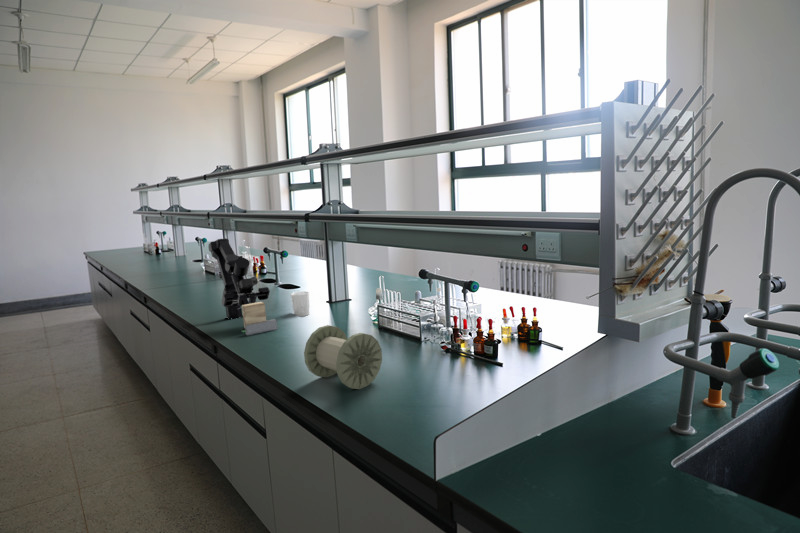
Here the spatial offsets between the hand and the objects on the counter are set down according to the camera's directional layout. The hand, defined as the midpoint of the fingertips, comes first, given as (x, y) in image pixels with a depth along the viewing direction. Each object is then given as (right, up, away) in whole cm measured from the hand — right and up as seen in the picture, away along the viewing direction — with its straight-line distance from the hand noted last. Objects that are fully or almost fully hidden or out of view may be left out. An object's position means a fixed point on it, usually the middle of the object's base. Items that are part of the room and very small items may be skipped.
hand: (252, 312), depth 212 cm
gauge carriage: (+2, -6, -1) cm, 6 cm away
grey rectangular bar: (+6, -7, -7) cm, 12 cm away
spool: (+44, -14, -63) cm, 78 cm away
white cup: (+16, -3, +22) cm, 28 cm away
